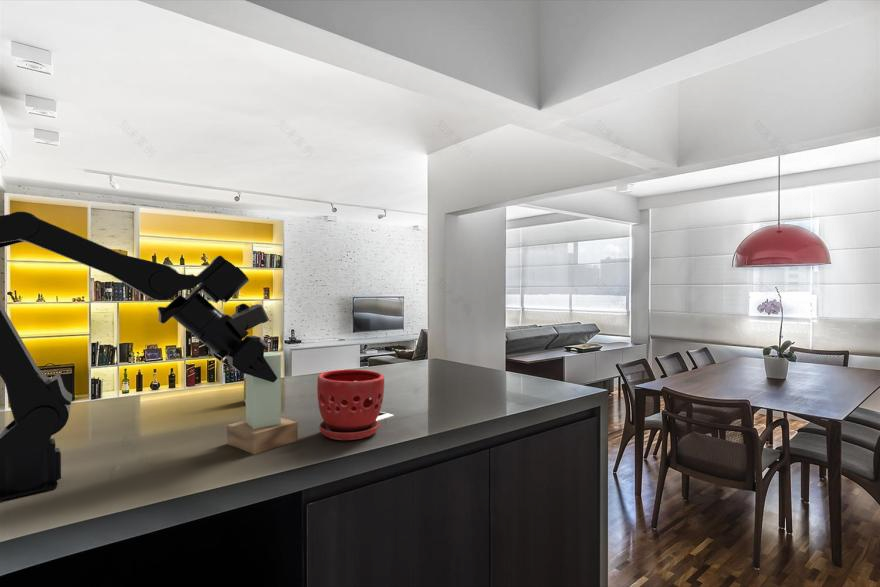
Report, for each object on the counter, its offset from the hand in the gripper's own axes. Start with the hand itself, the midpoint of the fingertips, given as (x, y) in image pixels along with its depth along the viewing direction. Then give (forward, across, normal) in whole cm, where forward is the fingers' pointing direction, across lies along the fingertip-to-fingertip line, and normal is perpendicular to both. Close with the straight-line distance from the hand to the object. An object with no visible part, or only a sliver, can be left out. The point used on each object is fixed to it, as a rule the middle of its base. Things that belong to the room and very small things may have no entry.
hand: (269, 377), depth 87 cm
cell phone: (+25, +7, -7) cm, 26 cm away
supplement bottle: (+13, +34, +4) cm, 37 cm away
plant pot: (+19, -6, -1) cm, 20 cm away
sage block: (+5, 0, +7) cm, 9 cm away
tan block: (+8, 0, +10) cm, 13 cm away
